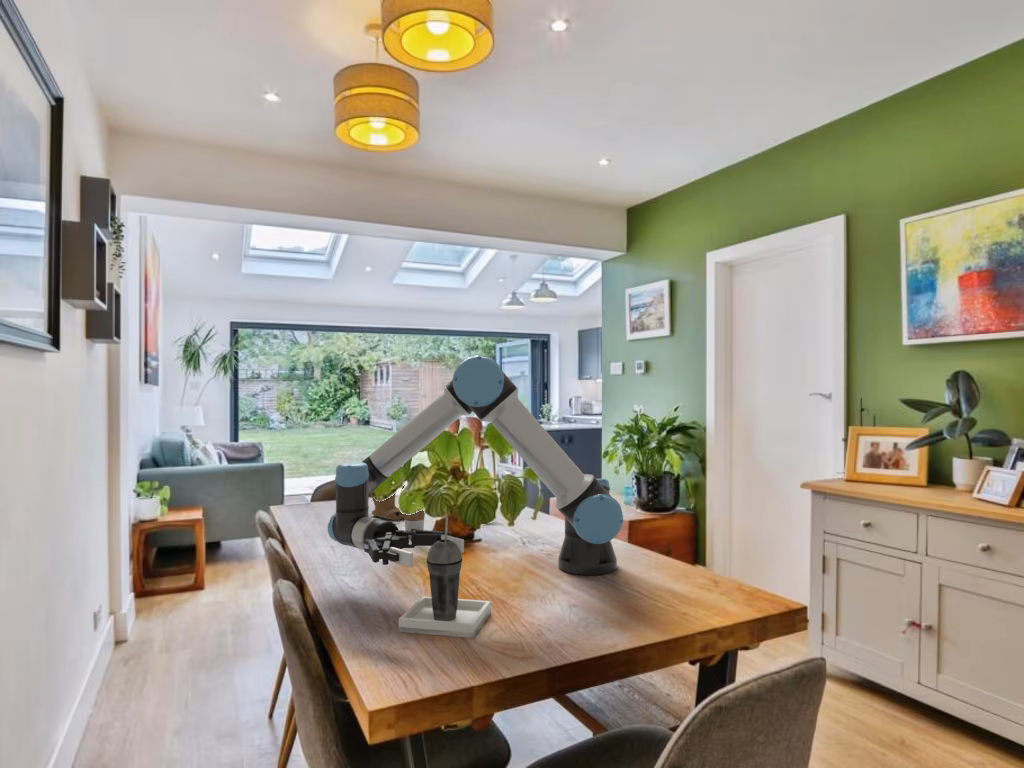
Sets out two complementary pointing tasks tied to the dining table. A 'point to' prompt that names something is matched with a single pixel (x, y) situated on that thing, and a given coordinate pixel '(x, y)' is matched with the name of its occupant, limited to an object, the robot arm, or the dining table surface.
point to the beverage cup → (444, 577)
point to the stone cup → (387, 509)
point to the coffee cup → (414, 520)
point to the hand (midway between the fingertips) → (438, 552)
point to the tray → (463, 625)
